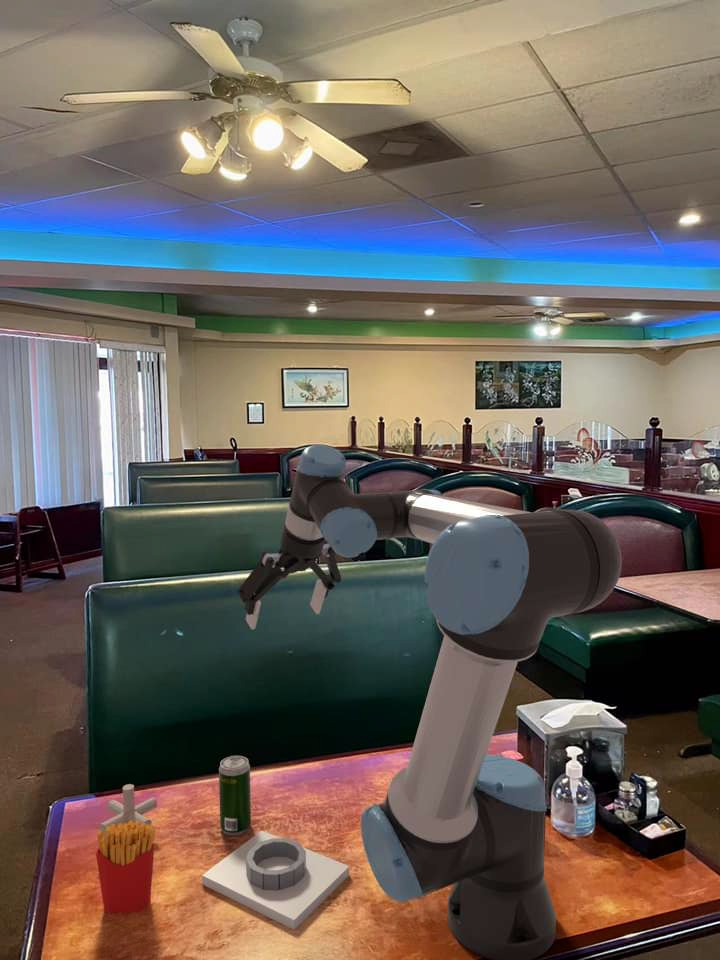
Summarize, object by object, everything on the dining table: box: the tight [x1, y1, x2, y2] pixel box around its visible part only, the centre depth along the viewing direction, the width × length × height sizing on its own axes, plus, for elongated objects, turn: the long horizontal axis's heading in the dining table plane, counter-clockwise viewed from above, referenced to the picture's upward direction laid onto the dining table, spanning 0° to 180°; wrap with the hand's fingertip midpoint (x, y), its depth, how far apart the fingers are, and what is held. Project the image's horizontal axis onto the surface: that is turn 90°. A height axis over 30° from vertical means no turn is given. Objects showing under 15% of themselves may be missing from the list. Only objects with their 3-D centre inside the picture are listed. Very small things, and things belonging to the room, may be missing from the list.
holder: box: [201, 830, 350, 931], centre depth 109 cm, size 18×14×4 cm
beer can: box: [218, 755, 252, 837], centre depth 123 cm, size 5×5×12 cm
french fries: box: [95, 820, 157, 914], centre depth 104 cm, size 8×4×12 cm, turn 93°
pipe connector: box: [99, 783, 158, 836], centre depth 119 cm, size 10×10×10 cm
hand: (283, 616), depth 132 cm, fingers open, 13 cm apart
